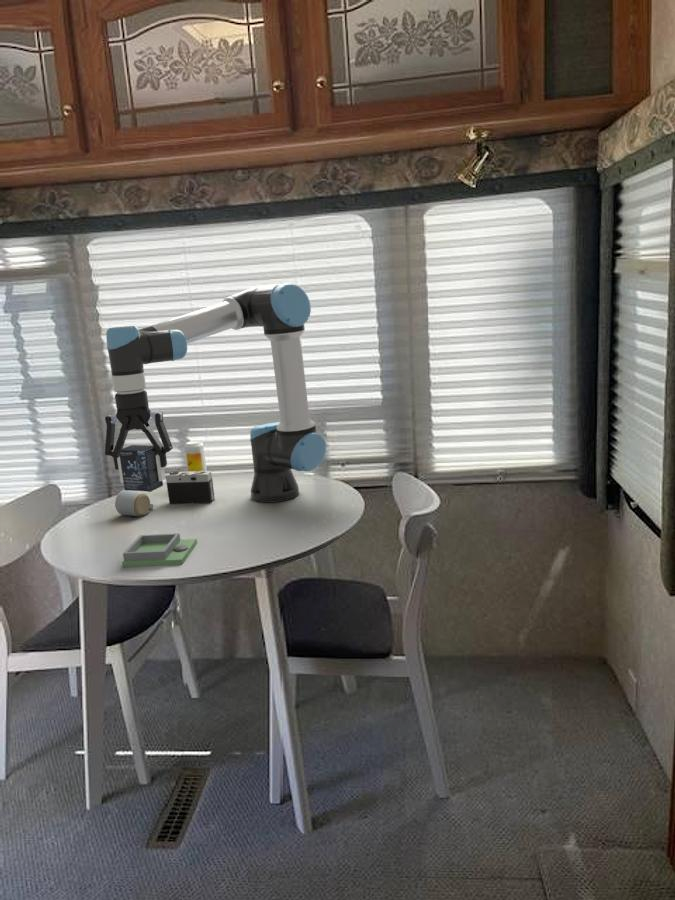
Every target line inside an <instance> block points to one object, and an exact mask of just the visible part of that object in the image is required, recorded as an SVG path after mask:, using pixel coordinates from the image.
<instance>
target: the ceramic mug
mask: <svg viewBox="0 0 675 900" xmlns="http://www.w3.org/2000/svg"><path fill="white" fill-rule="evenodd" d="M114 502H115V503H114V506H115V510H116V511H117V513H118V514H120V515H124V516H133V517H143V516H144V515H146V514H148V512H149V510H153V509H154V503H151V499H150V497H149V496H148V495H147V493H144V492H142V491H132V490H128V491H126V490H125V489H122V490H121V491H119V492H118V493H117V495H116V497H115V501H114Z"/></svg>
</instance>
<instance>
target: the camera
mask: <svg viewBox="0 0 675 900" xmlns="http://www.w3.org/2000/svg"><path fill="white" fill-rule="evenodd" d="M213 482H214V481H213V476H212V471H211V470H207V471H193V472H188V471H177V470H176V471H170V472H169V473H167V474H165V483H166V488H167V496H168V503H169V505H187V504H188V505H189V504H190V505H195V504H197V505H198V504H212V503H213V502H214V501H215V500H216V499H215V493H214V492H215V490H214V483H213Z"/></svg>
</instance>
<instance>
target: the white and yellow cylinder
mask: <svg viewBox="0 0 675 900" xmlns="http://www.w3.org/2000/svg"><path fill="white" fill-rule="evenodd" d="M184 447H185V455H186V462H187V463H186V464H187V472H193V471H208V470H207V462H206V454H205V447H204V443H203V441H202V440H191V441H188V442H186V443H185V446H184Z"/></svg>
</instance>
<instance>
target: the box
mask: <svg viewBox="0 0 675 900" xmlns="http://www.w3.org/2000/svg"><path fill="white" fill-rule="evenodd" d="M157 454H158V452H157V451H156V449H155V448H154V446H153V445H149V444H148V445H147V444H146V445H145V444H144V445H142V444H141V445H139V444H131V445H128V446H126V447H123V448H122V449H120V450H119V455H120V462H121V468H122V475H123V482H124V483H123V487H124V490H126V491H128V490H131V491H136V492H147V493H151V492H154V491H155V490H157V489H160V488H161V487H163V486H164V482H163V481H164V480H163V481H159V477H158V470H157V463H156V455H157Z"/></svg>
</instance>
